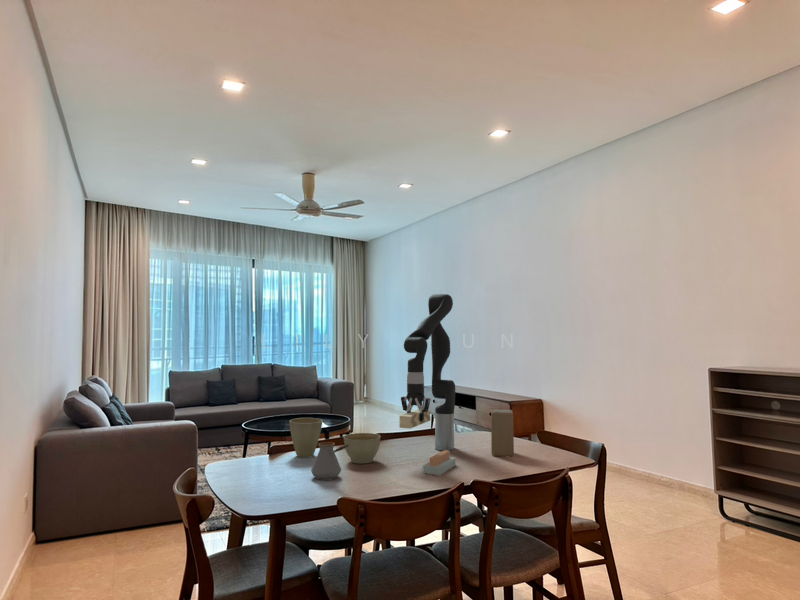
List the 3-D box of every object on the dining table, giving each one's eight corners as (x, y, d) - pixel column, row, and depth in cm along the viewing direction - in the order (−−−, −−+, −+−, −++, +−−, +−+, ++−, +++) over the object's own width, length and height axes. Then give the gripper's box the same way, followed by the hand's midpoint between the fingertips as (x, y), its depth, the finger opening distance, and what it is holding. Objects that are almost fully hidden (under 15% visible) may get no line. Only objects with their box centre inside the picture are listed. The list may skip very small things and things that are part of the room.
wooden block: (512, 452, 240) (512, 409, 241) (513, 457, 230) (513, 412, 231) (491, 451, 241) (491, 409, 243) (491, 456, 231) (491, 412, 233)
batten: (420, 419, 235) (420, 408, 235) (430, 420, 232) (430, 409, 233) (399, 427, 215) (399, 415, 215) (410, 428, 213) (410, 416, 213)
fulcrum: (440, 463, 218) (440, 449, 219) (455, 465, 215) (455, 450, 216) (423, 473, 202) (423, 457, 203) (439, 475, 199) (439, 459, 200)
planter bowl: (371, 455, 231) (371, 431, 232) (386, 463, 217) (386, 437, 218) (338, 459, 224) (338, 434, 225) (351, 467, 210) (351, 441, 211)
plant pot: (291, 460, 221) (291, 423, 222) (286, 453, 235) (287, 418, 236) (324, 458, 226) (325, 422, 227) (318, 451, 240) (319, 417, 241)
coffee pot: (305, 476, 196) (306, 437, 197) (331, 471, 204) (331, 434, 205) (334, 490, 180) (334, 447, 181) (361, 484, 187) (361, 443, 188)
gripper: (433, 382, 225) (433, 421, 224) (404, 380, 231) (404, 418, 230) (426, 383, 218) (426, 423, 217) (397, 382, 225) (397, 421, 224)
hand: (415, 420), depth 224 cm, fingers closed on batten, 5 cm apart
